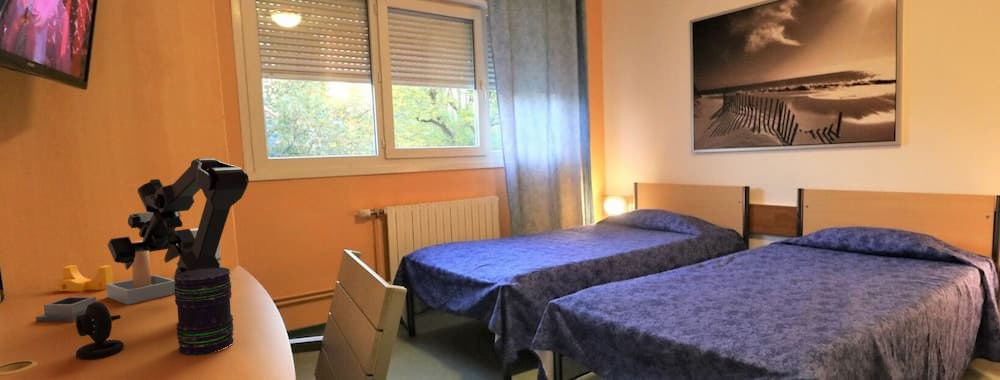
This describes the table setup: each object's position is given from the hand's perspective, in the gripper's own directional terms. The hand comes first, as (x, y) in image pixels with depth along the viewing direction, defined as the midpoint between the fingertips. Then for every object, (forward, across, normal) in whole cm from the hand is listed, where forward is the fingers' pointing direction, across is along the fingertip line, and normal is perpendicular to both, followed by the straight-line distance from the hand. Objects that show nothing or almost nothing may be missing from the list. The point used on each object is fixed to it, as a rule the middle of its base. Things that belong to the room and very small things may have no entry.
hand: (146, 264), depth 140 cm
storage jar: (-27, +8, +41) cm, 49 cm away
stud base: (+6, +17, +7) cm, 19 cm away
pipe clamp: (+23, +6, -10) cm, 26 cm away
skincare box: (+14, -20, -2) cm, 24 cm away
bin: (+9, 0, +4) cm, 9 cm away
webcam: (-17, +22, +30) cm, 41 cm away
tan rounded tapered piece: (+8, 0, +3) cm, 9 cm away
